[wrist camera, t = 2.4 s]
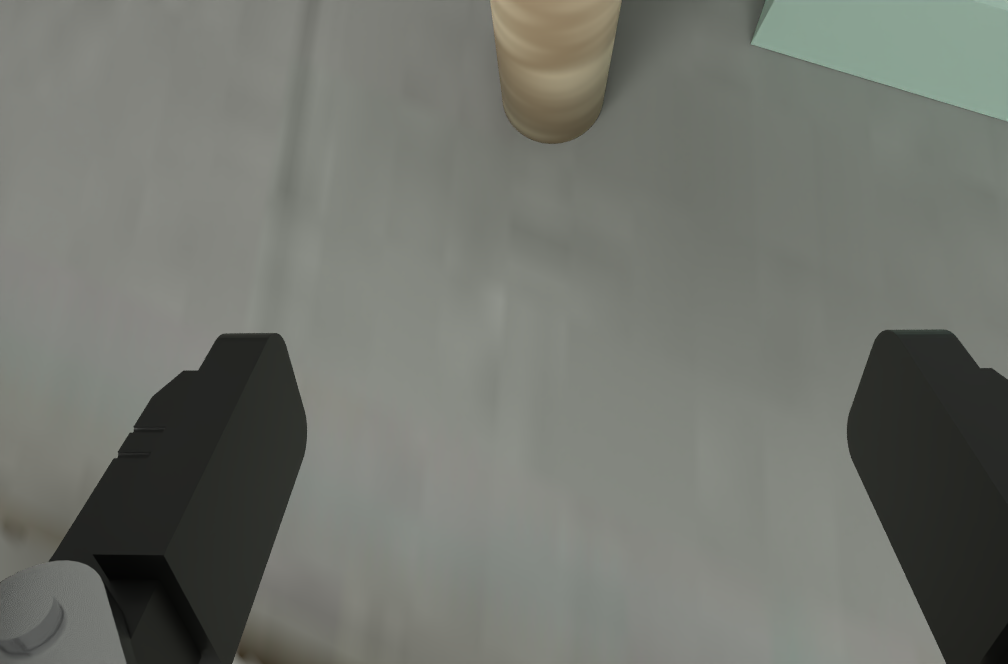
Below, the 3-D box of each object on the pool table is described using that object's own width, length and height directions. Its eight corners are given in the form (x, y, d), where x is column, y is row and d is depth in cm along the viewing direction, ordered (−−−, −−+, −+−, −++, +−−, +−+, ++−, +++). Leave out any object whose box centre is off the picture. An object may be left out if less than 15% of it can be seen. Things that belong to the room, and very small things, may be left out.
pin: (488, 125, 26) (453, -65, 16) (522, 35, 26) (509, -206, 16) (584, 156, 25) (611, -19, 15) (617, 65, 26) (664, -164, 16)
